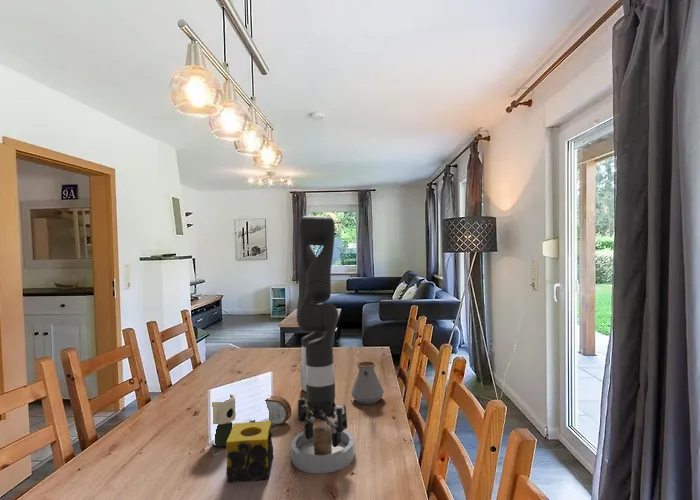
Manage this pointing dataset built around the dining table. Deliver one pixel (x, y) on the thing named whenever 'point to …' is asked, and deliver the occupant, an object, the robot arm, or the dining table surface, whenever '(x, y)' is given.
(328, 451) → the walnut bead
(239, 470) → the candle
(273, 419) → the tin
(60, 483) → the dining table surface
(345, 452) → the round tray
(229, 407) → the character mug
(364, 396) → the coffee pot
